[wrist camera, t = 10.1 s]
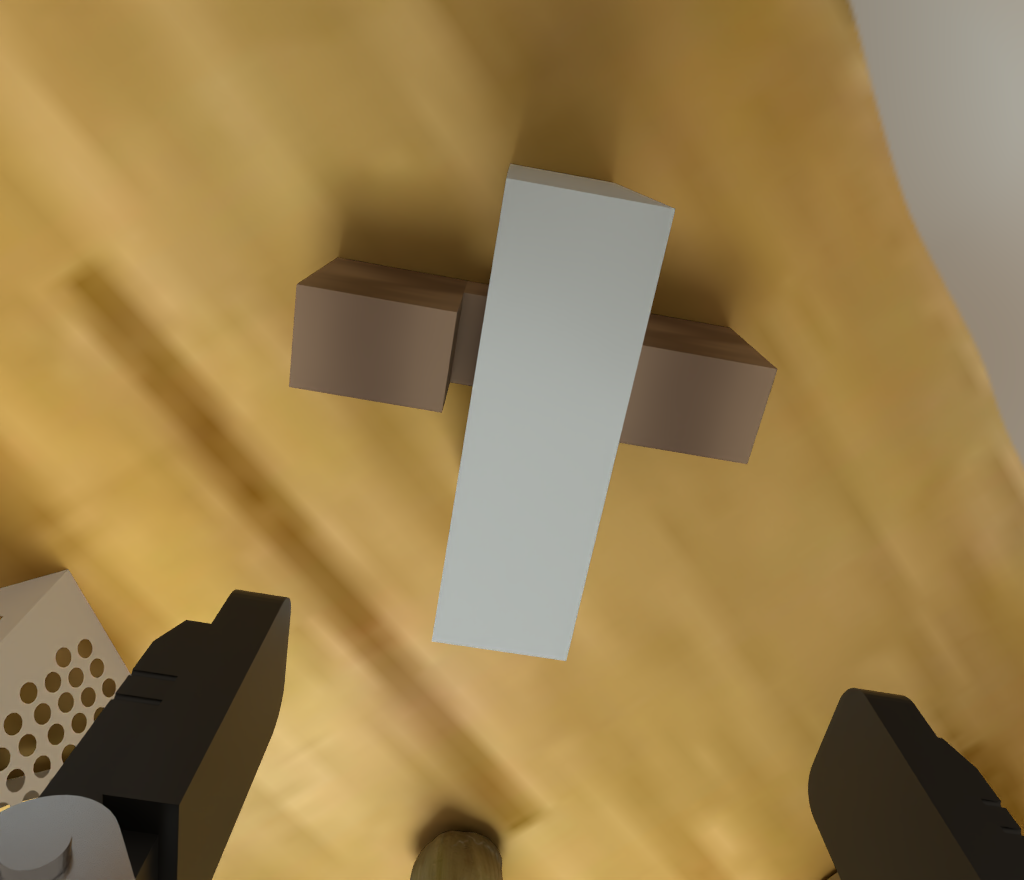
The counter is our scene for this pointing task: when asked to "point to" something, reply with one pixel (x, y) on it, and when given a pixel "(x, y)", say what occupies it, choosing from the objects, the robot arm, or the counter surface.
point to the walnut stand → (455, 344)
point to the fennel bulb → (458, 858)
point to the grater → (47, 672)
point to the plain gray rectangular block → (547, 406)
